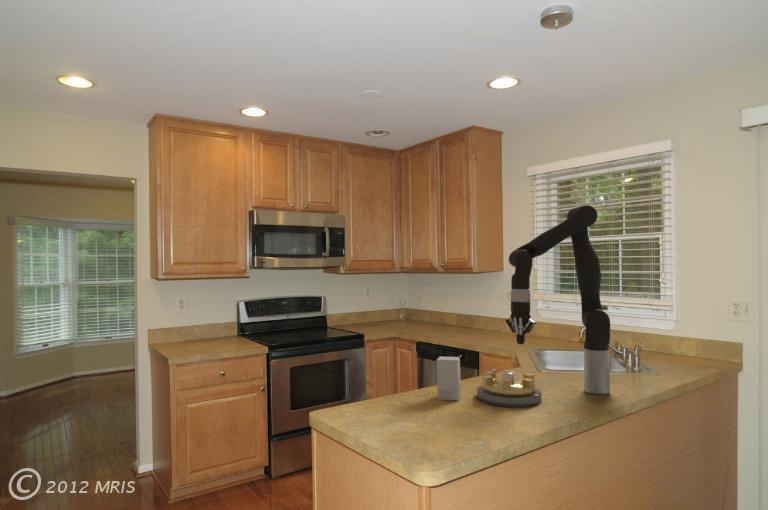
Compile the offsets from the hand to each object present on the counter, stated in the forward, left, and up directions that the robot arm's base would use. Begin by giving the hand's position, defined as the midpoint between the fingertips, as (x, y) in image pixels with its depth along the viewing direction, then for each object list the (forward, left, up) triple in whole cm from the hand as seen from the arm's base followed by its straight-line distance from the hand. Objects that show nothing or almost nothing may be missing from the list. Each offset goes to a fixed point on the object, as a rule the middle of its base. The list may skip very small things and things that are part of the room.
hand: (520, 343), depth 198 cm
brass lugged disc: (+4, +7, -17) cm, 19 cm away
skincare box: (+26, +13, -20) cm, 36 cm away
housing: (+4, +7, -20) cm, 22 cm away
